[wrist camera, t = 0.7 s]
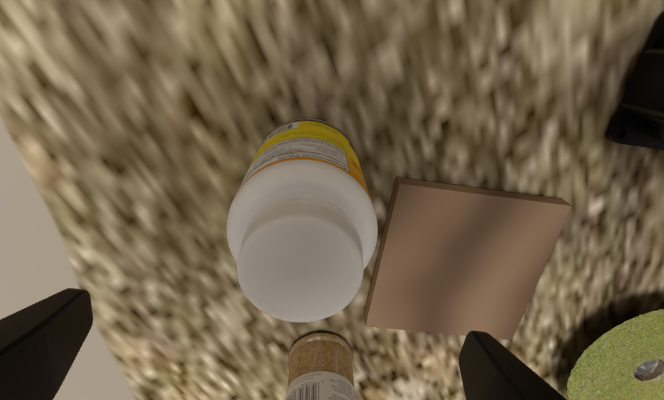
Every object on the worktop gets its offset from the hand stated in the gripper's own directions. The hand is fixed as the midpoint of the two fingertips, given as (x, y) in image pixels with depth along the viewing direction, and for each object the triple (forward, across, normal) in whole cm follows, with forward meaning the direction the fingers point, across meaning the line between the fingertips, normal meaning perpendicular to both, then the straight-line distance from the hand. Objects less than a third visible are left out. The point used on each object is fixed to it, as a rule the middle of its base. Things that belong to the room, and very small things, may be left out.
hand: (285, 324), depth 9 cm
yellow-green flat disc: (+13, -25, +11) cm, 31 cm away
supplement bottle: (+13, 0, 0) cm, 13 cm away
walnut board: (+13, -10, +6) cm, 17 cm away
